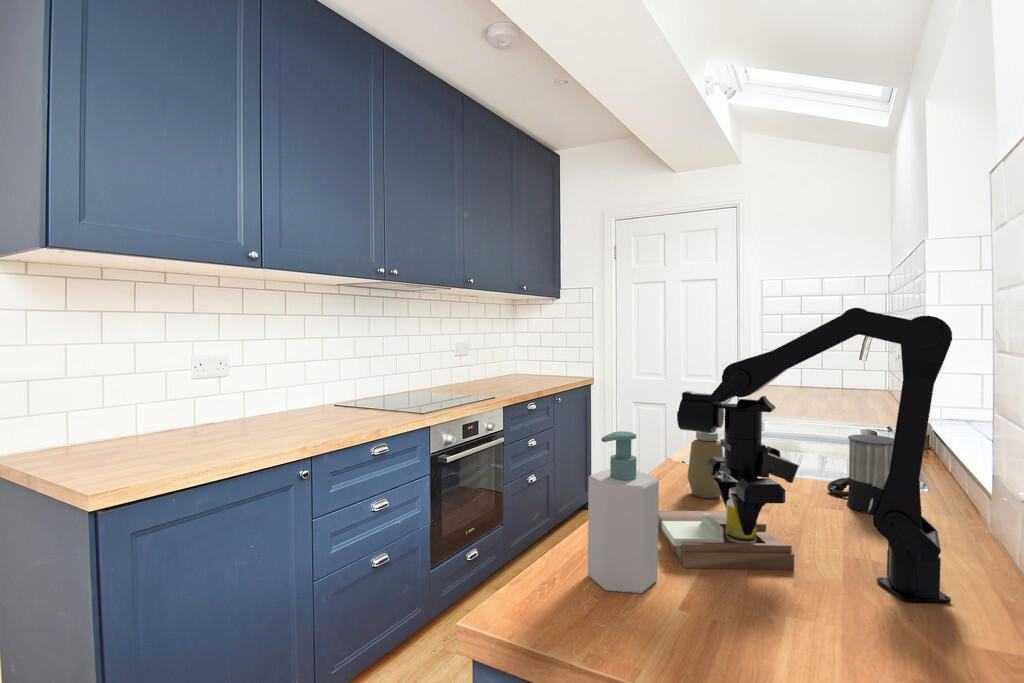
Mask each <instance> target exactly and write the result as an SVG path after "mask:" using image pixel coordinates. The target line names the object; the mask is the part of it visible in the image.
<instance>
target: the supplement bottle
mask: <svg viewBox="0 0 1024 683" xmlns="http://www.w3.org/2000/svg"><path fill="white" fill-rule="evenodd" d="M731 493H737V492H736V487H732V488H730V489H729V498H730V499H729V500H728V501H727V504H726V507H725V509H726V510H725V511H726V537H727V539H728V540H729V541H731V542H733V543H755V542H756V539H757V523H758V521H756V523H755V526H754V529H753V532H752V534H751V535H745V534H744V533H743V530H742V527H741V524H740V521H739V518H738V515H737V512H736V508H735V505H734V502H733V499H732V496H731Z"/></svg>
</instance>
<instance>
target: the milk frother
mask: <svg viewBox="0 0 1024 683" xmlns="http://www.w3.org/2000/svg"><path fill="white" fill-rule="evenodd" d="M847 439H848V440H849V447H848V448H849V449H848V450H849V451H848V453H849V454H848V457H849V458H848V477H841V478H837V479H833V480H831V481H830V482H829V483H828V484H827V490H828V492H830V494H833V495H835V496H837V497H838V496H839V497H843V498H847V501H846V506H847V507H848V508H850V509H852V510H854V511H857V512H860V513H863V514H864V513H865V514H868V510H869V505H870V501H871V499H872V498H873V494H872V486H873V481H874V478H878V479H881V480H883V481H885V478H886V476H887V473H888V471H889V469H890V463H891V456H892V450H893V443H894V437H888V436H883V435H877V434H876V435H874V434H852V435H848V436H847ZM847 487H848V491H845V489H846V488H847Z"/></svg>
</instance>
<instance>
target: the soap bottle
mask: <svg viewBox="0 0 1024 683" xmlns="http://www.w3.org/2000/svg"><path fill="white" fill-rule="evenodd" d="M636 439H637V434H636V433H635V432H632V431H631V432H630V431H623V430H622V431H620V430H619V431H614V432H611V433H609V434H607V435H604V436H603V437H601V439H600V440H601V443H602V442H603V443H608V442H613V441H615V454H612V455H610V462H609V463H610V464H609V465H610V467H609V468H610V469H609V468H605V469H603V470H600V471H598V472H596V473H593V474H591V475H589V476H588V486H587V487H588V488H587V489H588V492H587V493H588V500H587V502H588V503H587V504H588V506H587V511H588V512H587V516H588V517H587V521H588V522H587V575H588V577H589V578H590V579H591V580H592V581H594V582H595V583H596V584H598V586H600V587H601V588H602V590H604V591H606V592H616V591H617V592H618V593H629V594H630V593H631V594H642V593H643V592H644V591H646V590H647V589H648V588H649V587H651V586H653V584H654V583H656V582H657V581H658V578H659V577H658V575H659V572H658V570H659V569H658V567H659V565H658V564H659V562H658V560H659V559H658V558H659V528H658V511H659V497H660V494H659V493H660V492H659V486H660V485H659V484H660V483H659V482H660V481H659V479H658V478H656V477H654V476H652V475H650V474H647V473H646V472H643V471H640V470H637V456H636V455H632V440H636Z"/></svg>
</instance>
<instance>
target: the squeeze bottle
mask: <svg viewBox="0 0 1024 683" xmlns="http://www.w3.org/2000/svg"><path fill="white" fill-rule="evenodd" d="M695 438H696V439H694V440H693V441H692V442H691V444H690V445H691V446H690V453H689V461H688V470H687V480H688V483H689V486H690V490H691V492H692V495H694V496H695V497H699V498H702V499H717V498H719V497H721V495H720V493H719V491H718V489H717V486H716V484H715V482H714V481H713V478H718V472H716V473H715V475H710V474H709V473H708V472H707V461H708V460H709V459H710V458H711V457H724V449H723V448H724V447H723V446H721V445H720V440H719V433H718V431H716V432H715V433H707V432H698V431H695Z"/></svg>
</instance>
